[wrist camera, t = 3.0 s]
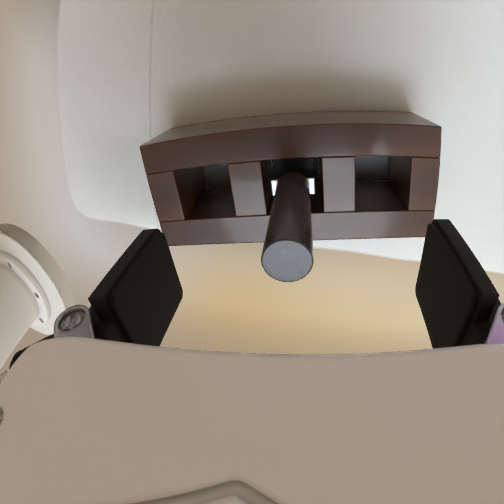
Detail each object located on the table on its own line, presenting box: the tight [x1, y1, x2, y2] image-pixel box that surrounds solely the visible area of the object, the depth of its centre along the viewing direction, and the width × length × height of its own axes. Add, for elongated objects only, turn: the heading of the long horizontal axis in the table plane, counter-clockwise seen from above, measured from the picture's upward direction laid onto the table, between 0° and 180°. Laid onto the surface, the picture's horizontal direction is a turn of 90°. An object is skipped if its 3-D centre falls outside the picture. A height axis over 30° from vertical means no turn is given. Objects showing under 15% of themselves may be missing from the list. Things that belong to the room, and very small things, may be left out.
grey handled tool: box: [261, 157, 316, 282], centre depth 16 cm, size 2×2×12 cm
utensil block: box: [140, 111, 441, 246], centre depth 18 cm, size 7×17×5 cm, turn 98°
